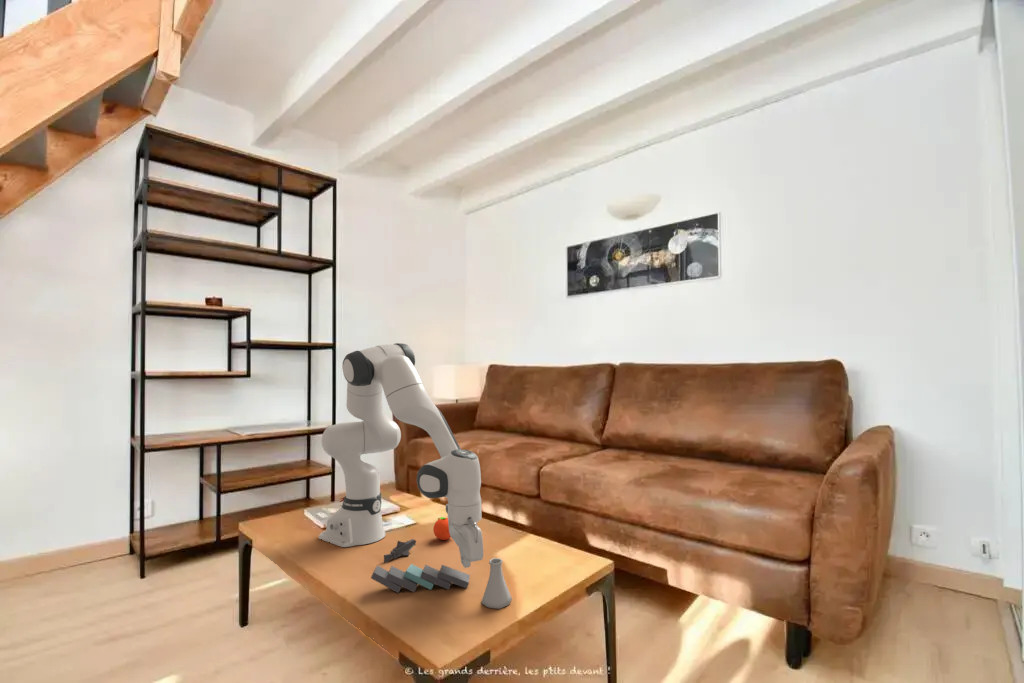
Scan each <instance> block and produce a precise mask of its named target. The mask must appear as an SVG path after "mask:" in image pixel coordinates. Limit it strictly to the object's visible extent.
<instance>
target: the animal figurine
mask: <svg viewBox="0 0 1024 683" xmlns="http://www.w3.org/2000/svg"><path fill="white" fill-rule="evenodd" d="M416 542H417V540H416V539H413V538H411V539H409V540H406V541H403V542H402V541H400V540H397V543H396V546H395V547H394V548H392V550H391V551H390V553H389V554H384V555H383V563H384V564H387V563H388V562H390V561H391V560H395V559H398V558H400V557H409V555H410V551H411V549H412V548H413V547H415V546H416V545H417V544H416Z"/></svg>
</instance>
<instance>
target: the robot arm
mask: <svg viewBox="0 0 1024 683" xmlns="http://www.w3.org/2000/svg"><path fill="white" fill-rule="evenodd" d="M415 356H416V355H415V352H414V351H413V350H412V348H411V347H410V346H409V345H408V344H406V343H398V342H397V343H394V344H381V345H376V346H372V347H368V348H364V349H361V350H354V351H352V352H350V353H349V352H348V354H346V355H345V356H344V358H343V360H342V372H343V376H344V379H345V380H346V382H347V384H346V386H347V387H346V404H345V405H346V410H347V412H348V413H349V414H350V415H351V416H353V417H354V418H356V419H358V420H361V421H350V422H348V421H347V422H341V423H336V424H332V425H329V426H327V427H326V428H325V429H324V431H323V433H322V435H321V447H322V448H323V451H324V452H325V453H326V454H327V455H328V456H330V457H332V459H334V460H335V461H337V463H338V464H339V465H340V468H341V469H342V472H343V474H344V475H343V476H344V483H345V496H343V497H341V498H339V503H341V502H342V505H341V506H340V508H339V509H338V510H336V511H335V513H333V514H332V515H331V516H329V518H328V519H327V521H326V529H325V530H324V531H322V532H321V533H320V534H318V539H319V540H321V539H322V541H325V542H326V543H329V542H330V544H332V545H335V546H338V547H341V548H349V547H353V546H361V545H367V544H372V543H376V542H378V541H380V540H382V539H383V538H385V537H386V531H385V527H384V523H383V522H384V521H383V516H382V509H381V508H382V494H381V488H380V487H381V485H380V484H381V483H380V482H381V481H380V480H381V478H380V477H381V474H380V473H381V472H380V471H379V468H377V467H376V466H375V465H373V464H371V463H368V462H365V461H363V460H362V459H361V456H362V455H367V454H376V453H384V452H388V451H391V450H395V449H396V448H397V447H398V446H399V443H400V442H401V438H402V432H401V429H400V426H399V425H398V424H397V422H395V421H394V420H392V419H391V418H389V417H388V416H387V414H386V413H385V411H384V409H383V393H384V396H385V399H386V401H387V402H386V403H387V405H388V406H389V410H390V411H391V413H392V415H393V416H394V417H395V418H396V419H397V420H399V421H401V422H402V423H405V424H408V425H413V426H416V427H418V428H421V429H422V430H424V431H426V432H427V434H428V435H429V437H430V438H431V440H432V442H433V444H434V446H435V448H436V450H437V452H438V454H439V456H440V458H439V459H435V460H432V461H431V462H426V464H424V465H422V466H421V467H420V468H419V469H418V471H417V474H416V484H417V488H418V490H419V492H420V493H421V494H422V495H423V496H424V497H426V498H428V499H439V498H446V500H447V503H446V504H445V513H446V514H447V518H448V526H449V533H450V536H451V537H450V538H451V539H452V541H453V542H454V543H455V545H456V546H457V547H458V549H459V550H458V551H459V554H460V563H461V564H462V566H463V567H464V569H465V568H470V567H471V562H472V563H473V562H479V561H481V560H482V561H483V558H484V542H483V540H484V539H483V533H482V530H481V527H480V526H478V522H479V521H482V518H483V517H482V514H483V513H482V497H481V492H480V490H481V486H482V478H481V477H482V473H481V465H480V460H479V456H478V455H477V454H476V453H475V452H474V451H471V450H468V449H462V448H461V447H460V445H459V443H458V441H457V439H456V437H455V435H454V433H453V432H452V429H451V427H450V425H449V424H448V422H447V420H446V418H445V416H444V415H443V413H442V411H441V410H440V409H439V408H438V407H437V406H436V405H435V403H434V402H433V401H432V399H431V398H430V396H429V394H428V392H427V390H426V388H425V386H424V382H422V378H421V376H420V375H419V373H418V370H417V369H416V367H415V365H416V358H415Z"/></svg>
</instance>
